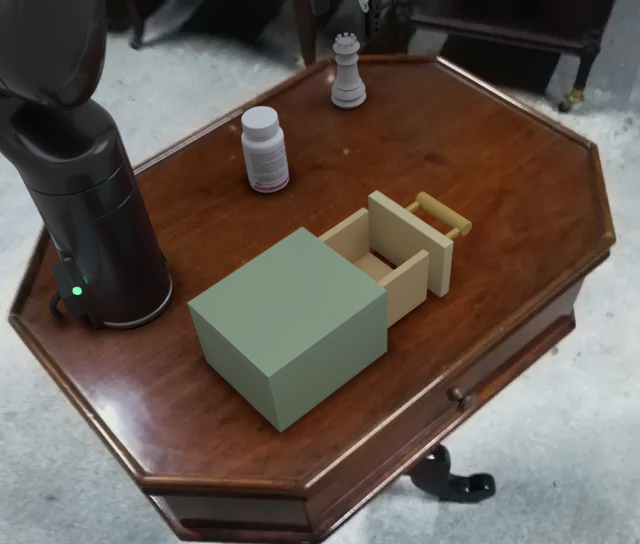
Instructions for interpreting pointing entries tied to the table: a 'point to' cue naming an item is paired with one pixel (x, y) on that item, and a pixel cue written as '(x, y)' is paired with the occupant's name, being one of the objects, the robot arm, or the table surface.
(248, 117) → the pill bottle
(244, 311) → the cabinet
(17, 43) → the robot arm
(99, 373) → the table surface
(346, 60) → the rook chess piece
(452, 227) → the drawer
